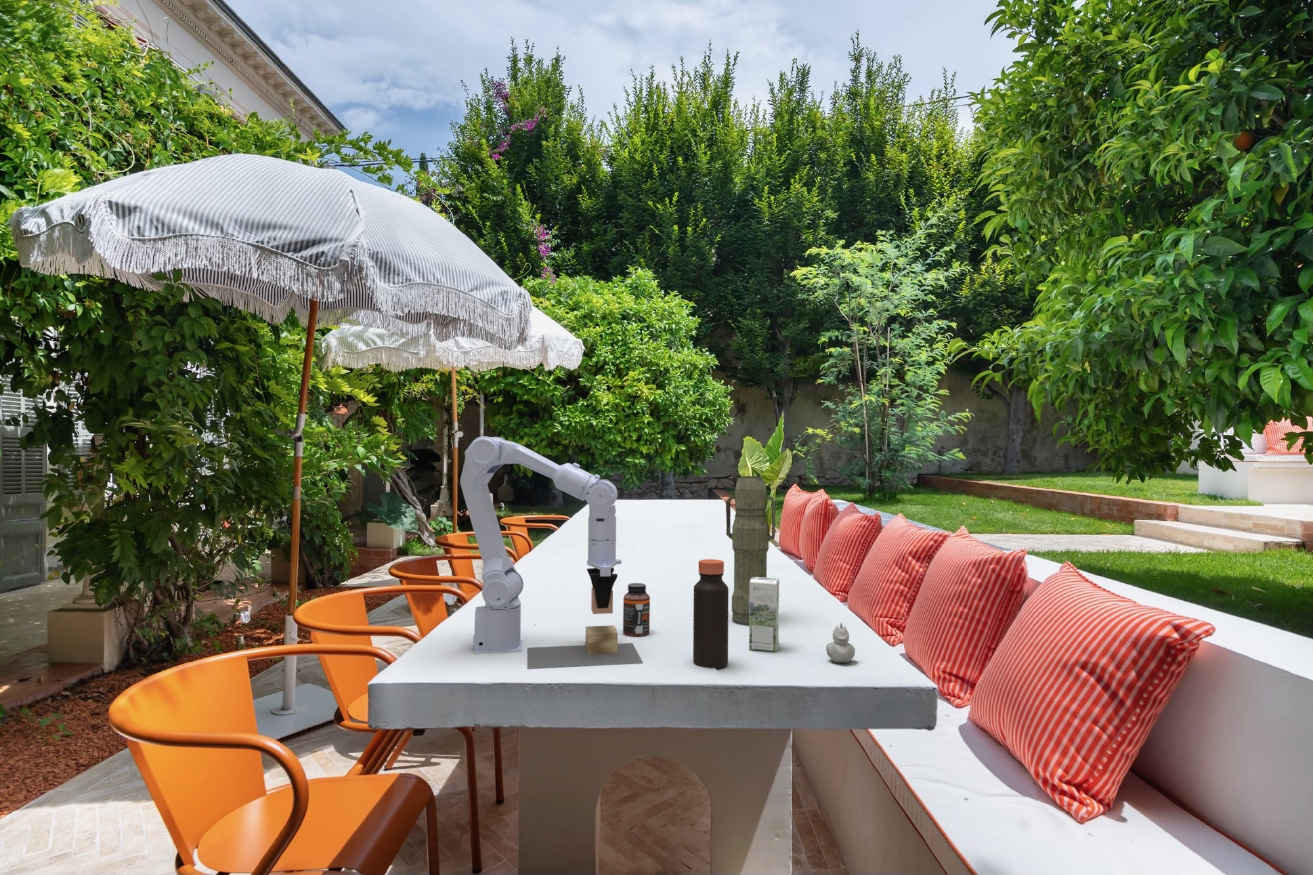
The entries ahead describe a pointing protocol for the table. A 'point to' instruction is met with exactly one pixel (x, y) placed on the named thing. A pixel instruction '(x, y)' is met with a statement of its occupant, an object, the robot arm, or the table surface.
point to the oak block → (601, 639)
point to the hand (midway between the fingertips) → (601, 605)
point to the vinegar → (710, 616)
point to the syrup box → (763, 614)
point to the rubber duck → (840, 646)
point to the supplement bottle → (636, 611)
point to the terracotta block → (601, 610)
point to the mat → (579, 656)
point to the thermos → (748, 540)
